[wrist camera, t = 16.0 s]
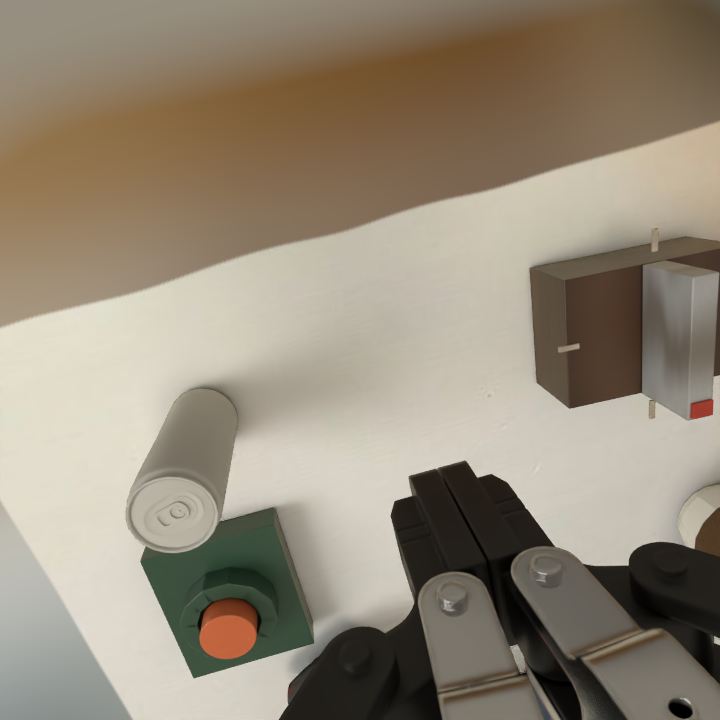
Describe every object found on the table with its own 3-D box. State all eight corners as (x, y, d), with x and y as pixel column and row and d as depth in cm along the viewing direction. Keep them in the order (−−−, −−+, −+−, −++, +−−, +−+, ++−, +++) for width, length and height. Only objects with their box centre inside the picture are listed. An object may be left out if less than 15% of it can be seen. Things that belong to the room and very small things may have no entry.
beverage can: (251, 425, 39) (239, 525, 28) (195, 458, 39) (161, 570, 28) (213, 373, 38) (184, 457, 26) (154, 407, 38) (101, 505, 27)
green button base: (146, 542, 41) (133, 578, 37) (274, 507, 42) (273, 539, 38) (197, 656, 45) (189, 699, 42) (312, 622, 46) (315, 662, 42)
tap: (642, 264, 34) (696, 278, 30) (665, 259, 34) (723, 272, 30) (641, 393, 37) (690, 423, 33) (663, 388, 37) (715, 417, 33)
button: (195, 606, 39) (191, 624, 38) (248, 591, 40) (247, 608, 38) (212, 646, 41) (209, 665, 39) (264, 631, 41) (263, 650, 39)
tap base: (530, 408, 42) (563, 439, 37) (519, 240, 38) (554, 249, 33) (688, 374, 43) (739, 399, 38) (695, 205, 39) (754, 209, 34)
